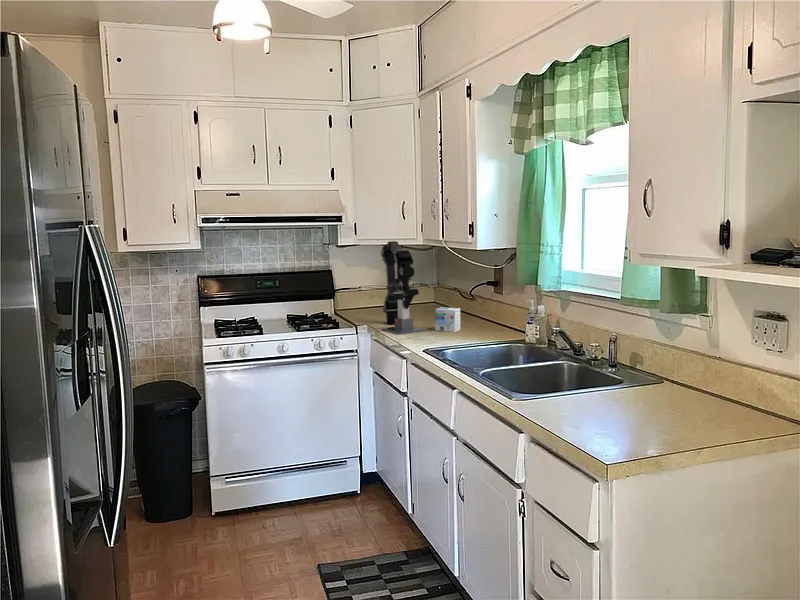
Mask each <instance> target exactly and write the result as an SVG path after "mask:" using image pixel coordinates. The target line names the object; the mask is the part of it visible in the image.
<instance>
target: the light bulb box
mask: <svg viewBox="0 0 800 600" xmlns="http://www.w3.org/2000/svg"><path fill="white" fill-rule="evenodd" d="M434 310H435V311H434V312H435V331H436V332H437V331H439V332H449V333H456V332H458V331H461V307H443V306H442V307H441V306H440V307H438V308H435V309H434Z"/></svg>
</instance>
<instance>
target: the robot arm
mask: <svg viewBox="0 0 800 600" xmlns="http://www.w3.org/2000/svg"><path fill="white" fill-rule="evenodd" d="M380 250H381V251H380V256H381V259H382V262H383V263H384V264H385V272H386V289H387V293H386V295H385V297H384V302H383V306H382V312H383V313H385V317H386V320H385V321H384V322H383V324H384V325H385V324H386V325H391V326H393V325H395V318H398V300H401V299H405V308H406V309H408V308H409V309H410V305H411V303H412V301H413V298H415V296H416V295H418V296H419V295H420V291H419V289H418V288H414V287H413V288H412V287H411V286H410V281H411V278H413V276H414V274H415V269H414V267H412V266H413V264H414V263H413V262H414V259H413V255H412V253H411V252H410V251H409V249H404V248H403V247H402V246H401V245H400V244H399V242H398V241H397V240H395V241H393V240H392V241H390V240H389V241H388V242H387V243H386V244H384V245H383V246H382V247H381V249H380ZM411 265H412V266H411Z"/></svg>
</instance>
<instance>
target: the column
mask: <svg viewBox="0 0 800 600" xmlns="http://www.w3.org/2000/svg"><path fill="white" fill-rule="evenodd" d="M410 318H411V317H410V307H409V308H408V309H406V308H405V299H401V300H398V319H401V320H404V319H410Z"/></svg>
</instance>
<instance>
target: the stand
mask: <svg viewBox="0 0 800 600" xmlns="http://www.w3.org/2000/svg"><path fill="white" fill-rule="evenodd" d="M381 331H383V332H387V333H391V334H395V335H398V336H400V335H407V334H409V335H410V334H414V333H415V332H416V333H422V332H428V329H427V328H425V327H420V326H416V325H414V319H413V317H410V319H404V320H401V319H398V318H395V324H394V326H390V327H382V328H381Z"/></svg>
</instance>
